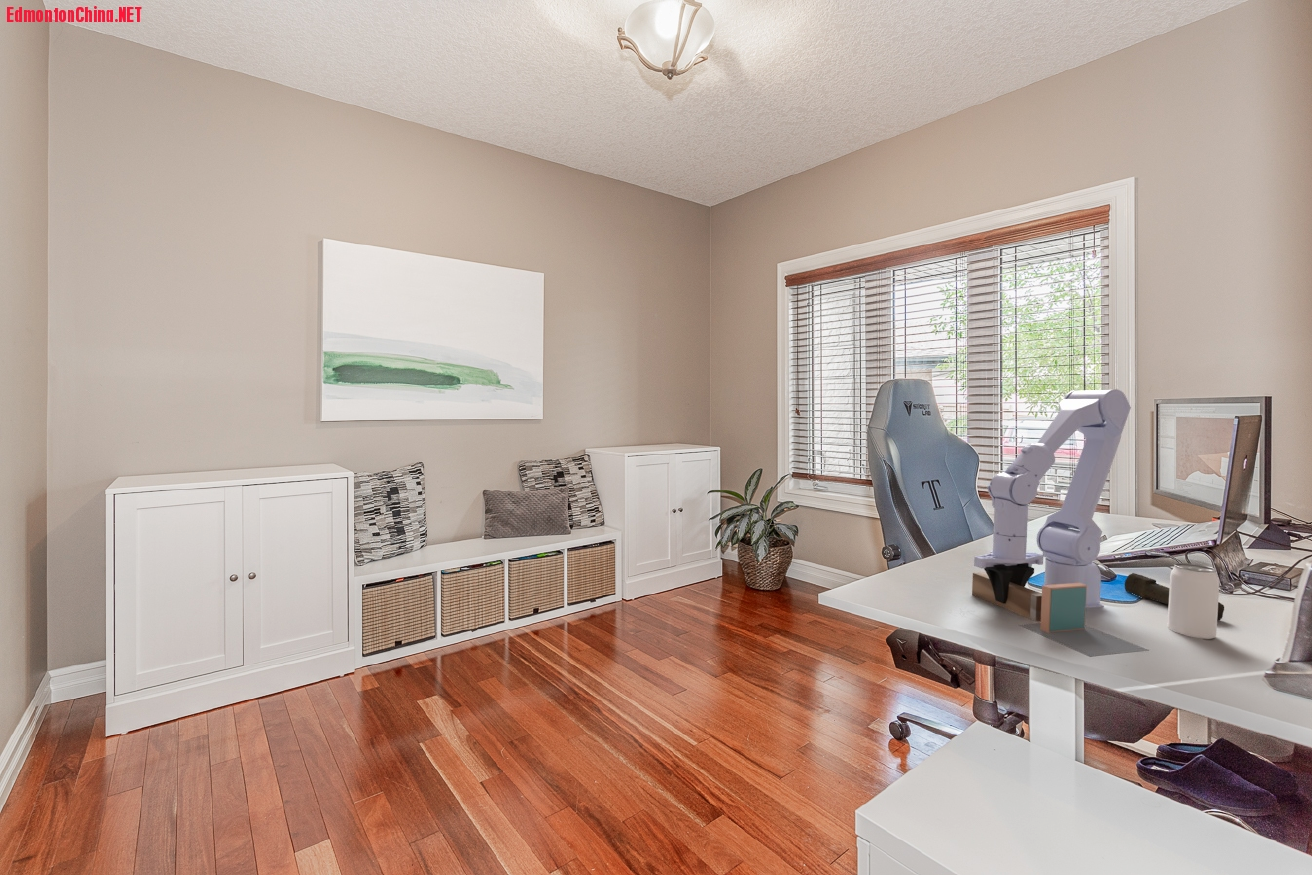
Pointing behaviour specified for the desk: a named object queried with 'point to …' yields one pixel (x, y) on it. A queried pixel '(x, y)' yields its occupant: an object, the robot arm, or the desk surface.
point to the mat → (1088, 641)
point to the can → (1193, 600)
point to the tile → (1063, 607)
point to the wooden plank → (1009, 597)
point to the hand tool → (1154, 590)
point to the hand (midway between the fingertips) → (1007, 601)
